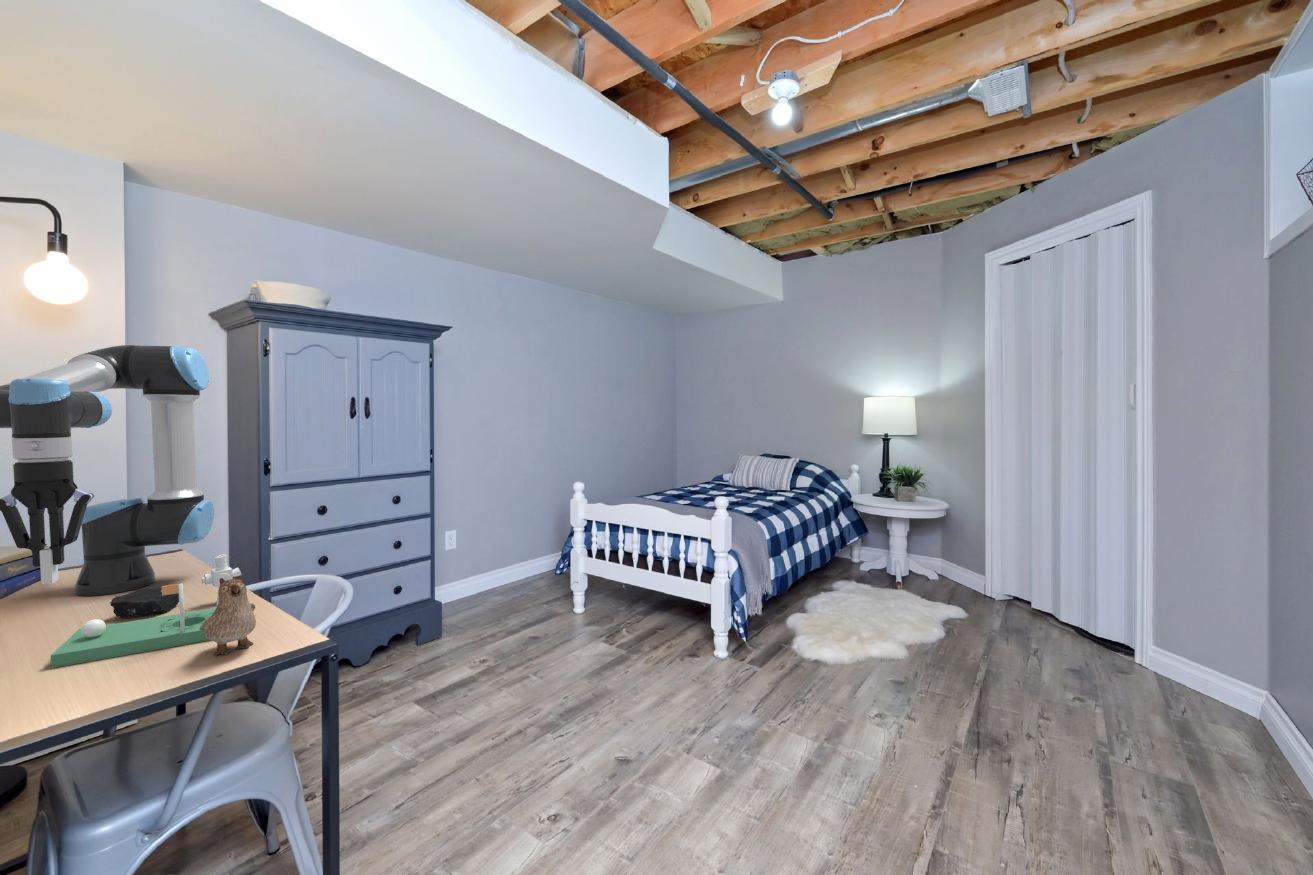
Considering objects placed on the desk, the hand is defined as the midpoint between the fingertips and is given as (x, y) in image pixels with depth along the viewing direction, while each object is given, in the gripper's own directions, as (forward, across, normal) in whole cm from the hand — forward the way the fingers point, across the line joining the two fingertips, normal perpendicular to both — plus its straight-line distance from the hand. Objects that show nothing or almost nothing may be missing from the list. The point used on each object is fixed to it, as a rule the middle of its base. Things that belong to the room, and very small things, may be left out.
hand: (49, 581), depth 104 cm
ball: (+10, +6, 0) cm, 12 cm away
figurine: (+15, +29, -15) cm, 35 cm away
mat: (+15, +14, 0) cm, 20 cm away
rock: (+15, +10, +20) cm, 27 cm away
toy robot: (+15, +24, +19) cm, 34 cm away
